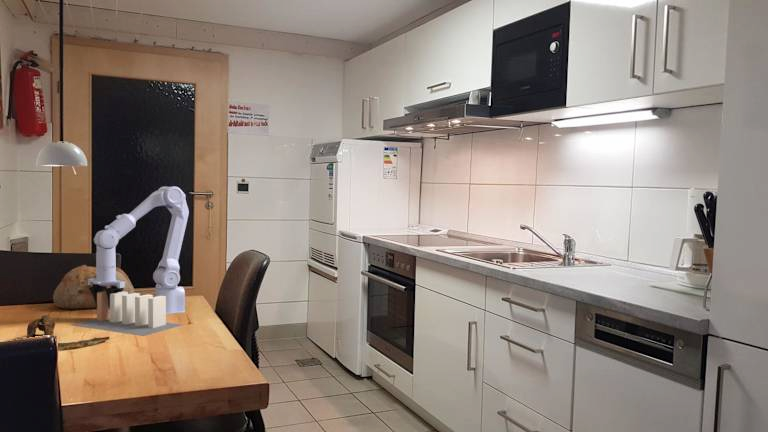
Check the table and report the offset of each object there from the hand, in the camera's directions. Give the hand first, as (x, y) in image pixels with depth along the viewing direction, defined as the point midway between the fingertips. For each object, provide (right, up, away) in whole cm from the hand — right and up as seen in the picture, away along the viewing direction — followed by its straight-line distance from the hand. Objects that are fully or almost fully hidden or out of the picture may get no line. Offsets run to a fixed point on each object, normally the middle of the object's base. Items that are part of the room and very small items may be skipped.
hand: (106, 308), depth 186 cm
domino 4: (+15, -4, -6) cm, 17 cm away
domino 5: (+20, -4, -9) cm, 22 cm away
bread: (-16, -3, +25) cm, 30 cm away
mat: (+10, -4, -8) cm, 13 cm away
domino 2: (+5, -4, -2) cm, 7 cm away
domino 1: (0, -4, 0) cm, 4 cm away
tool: (+3, -6, -31) cm, 32 cm away
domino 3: (+10, -4, -4) cm, 12 cm away
